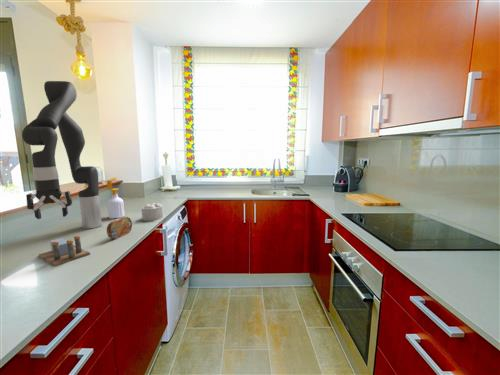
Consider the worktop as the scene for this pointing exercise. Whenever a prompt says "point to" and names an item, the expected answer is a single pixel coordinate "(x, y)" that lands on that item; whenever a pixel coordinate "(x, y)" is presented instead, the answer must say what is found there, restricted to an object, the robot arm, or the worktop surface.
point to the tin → (119, 227)
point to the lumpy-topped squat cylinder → (152, 212)
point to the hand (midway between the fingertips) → (52, 217)
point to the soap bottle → (115, 203)
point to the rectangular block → (61, 246)
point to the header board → (73, 253)
